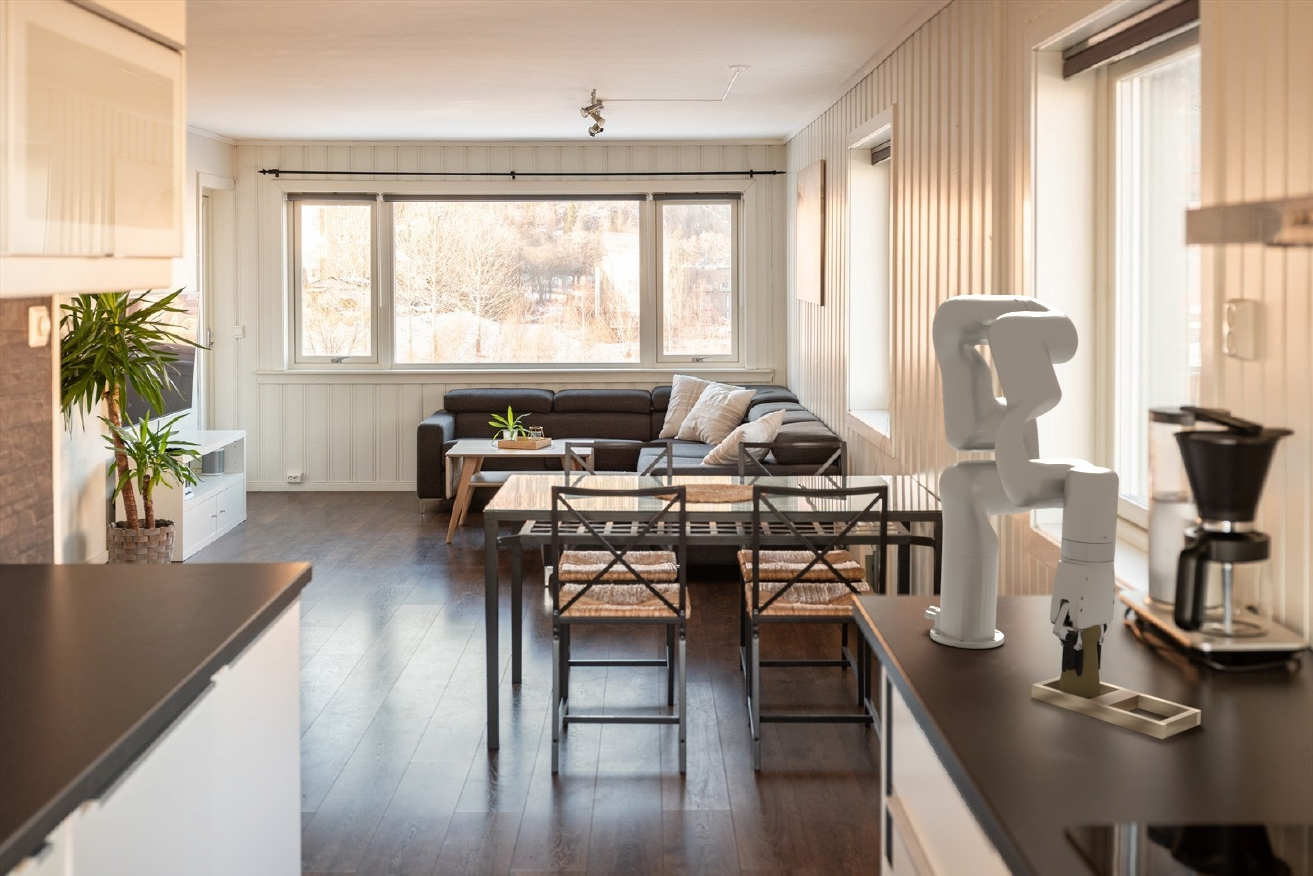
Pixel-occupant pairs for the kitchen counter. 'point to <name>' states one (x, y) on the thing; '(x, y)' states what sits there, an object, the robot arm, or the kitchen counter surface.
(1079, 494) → the robot arm
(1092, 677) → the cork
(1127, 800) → the kitchen counter surface
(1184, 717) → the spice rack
